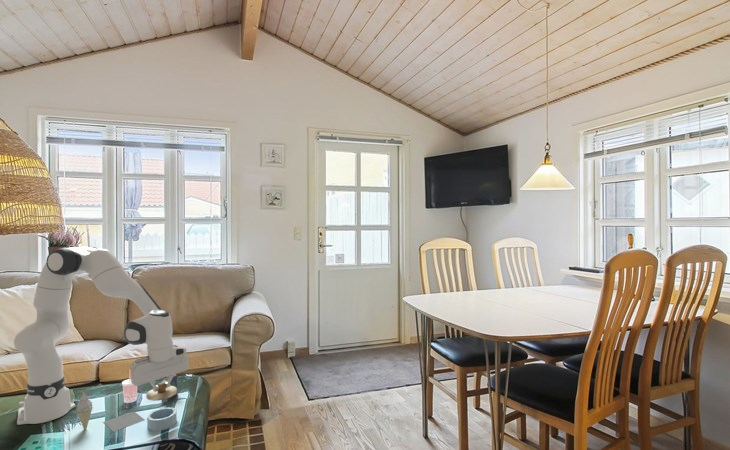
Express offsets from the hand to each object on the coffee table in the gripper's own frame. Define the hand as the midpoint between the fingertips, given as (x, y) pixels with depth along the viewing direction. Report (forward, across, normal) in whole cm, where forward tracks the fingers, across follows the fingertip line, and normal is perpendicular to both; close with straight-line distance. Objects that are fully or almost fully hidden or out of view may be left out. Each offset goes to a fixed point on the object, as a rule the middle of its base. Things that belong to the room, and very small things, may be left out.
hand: (161, 388), depth 154 cm
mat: (+14, -9, +14) cm, 22 cm away
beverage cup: (+14, 0, +31) cm, 34 cm away
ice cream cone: (+14, -20, +19) cm, 31 cm away
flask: (+14, +12, +21) cm, 28 cm away
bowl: (+14, 0, 0) cm, 14 cm away
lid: (+2, 0, 0) cm, 2 cm away
